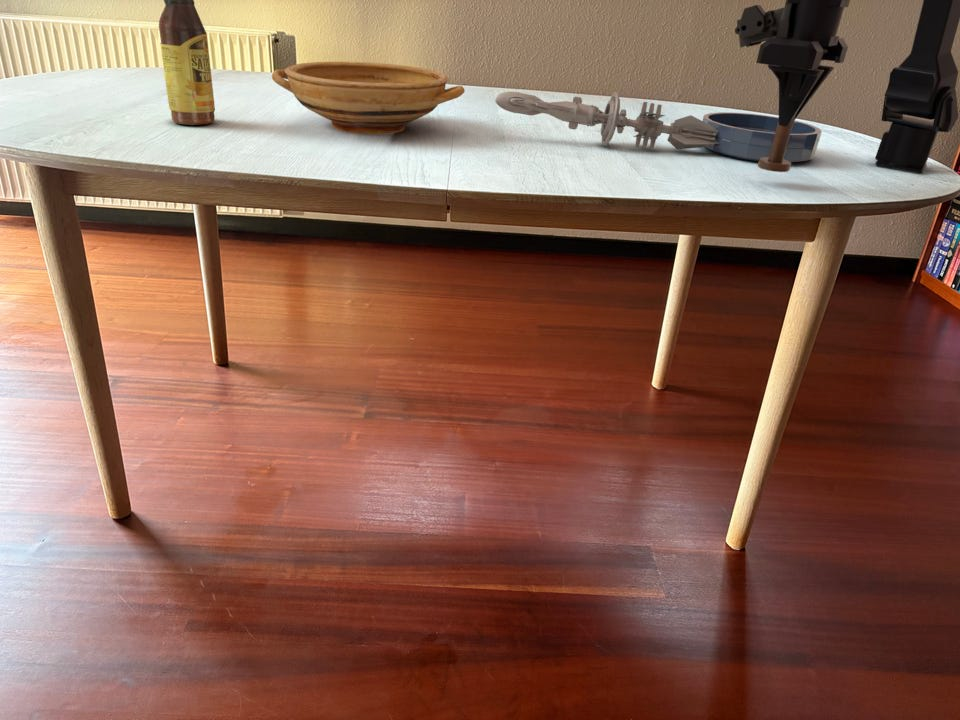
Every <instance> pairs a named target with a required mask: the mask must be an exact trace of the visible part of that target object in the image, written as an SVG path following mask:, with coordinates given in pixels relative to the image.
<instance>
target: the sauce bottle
mask: <svg viewBox="0 0 960 720" xmlns="http://www.w3.org/2000/svg"><path fill="white" fill-rule="evenodd" d="M163 2H164V4H165V5H164V8H163V10H162V12H161V14H160V17H159V21H158V30H159V37H160V50H161V51H160V52H161V59H162V60H161V61H162V66H163V73H164V74H163V75H164V81H165V88H166V95H167V103H168V108H169V110H170V115H171V120H172V122H174V123H175V124H179V125H187V126H197V125H199V126H201V125H208V124H212V123H214V121H215V112H216V106H215V97H214V96H215V95H214V88H213V79H212V69H211V60H210V59H211V58H210V50H209V42H208V33H207V32H206V28H205V26H204V25H203V22H202V20H201V18H200V16H199V15H200V14H199V13H198V10H197V8H196V6H195V0H163Z"/></svg>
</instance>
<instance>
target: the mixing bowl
mask: <svg viewBox="0 0 960 720" xmlns="http://www.w3.org/2000/svg"><path fill="white" fill-rule="evenodd" d="M702 121H703V122H705V123H707V124H709V125H711V126H713V127H714V128H715V129H716V130H718V132H717V134H716V136H715V137H716V138H715V140H716V141H717V142H719V143H720V144H714V146H706V147H705V148H706V149H709V150H711V151H712V152H714V153H716V154H720V155H723V156H727V157H730V158H734V159H739V160H745V161H751V162H757V163H758V162H759V159H760V158H762V157H769V155H770V151H771V147H772V144H773V140H774V136H775V132H776V129H777V125H778V121H779V116H773V115H766V114H765V115H764V114H756V113H747V112H727V111H725V112H720V111H719V112H709V113H705V114H703V116H702ZM822 133H823V132H822V130H821V128H820V127H818V126H815V125H814V124H813V125H812V124H809V123H807V122H803V121H800V120H799V121H798V120H795V121H794V123H793V127H792V130H791V134H790V137H789V141H788V144H787V148H786V151H785V155H784V160H787V161H789V162H791V164H792V163H797V162H800V163H801V162H806V161H811V160H812V159H814V158H815V156H816V152H817V149H818V145H819V142H820V138H821V136H822Z"/></svg>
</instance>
